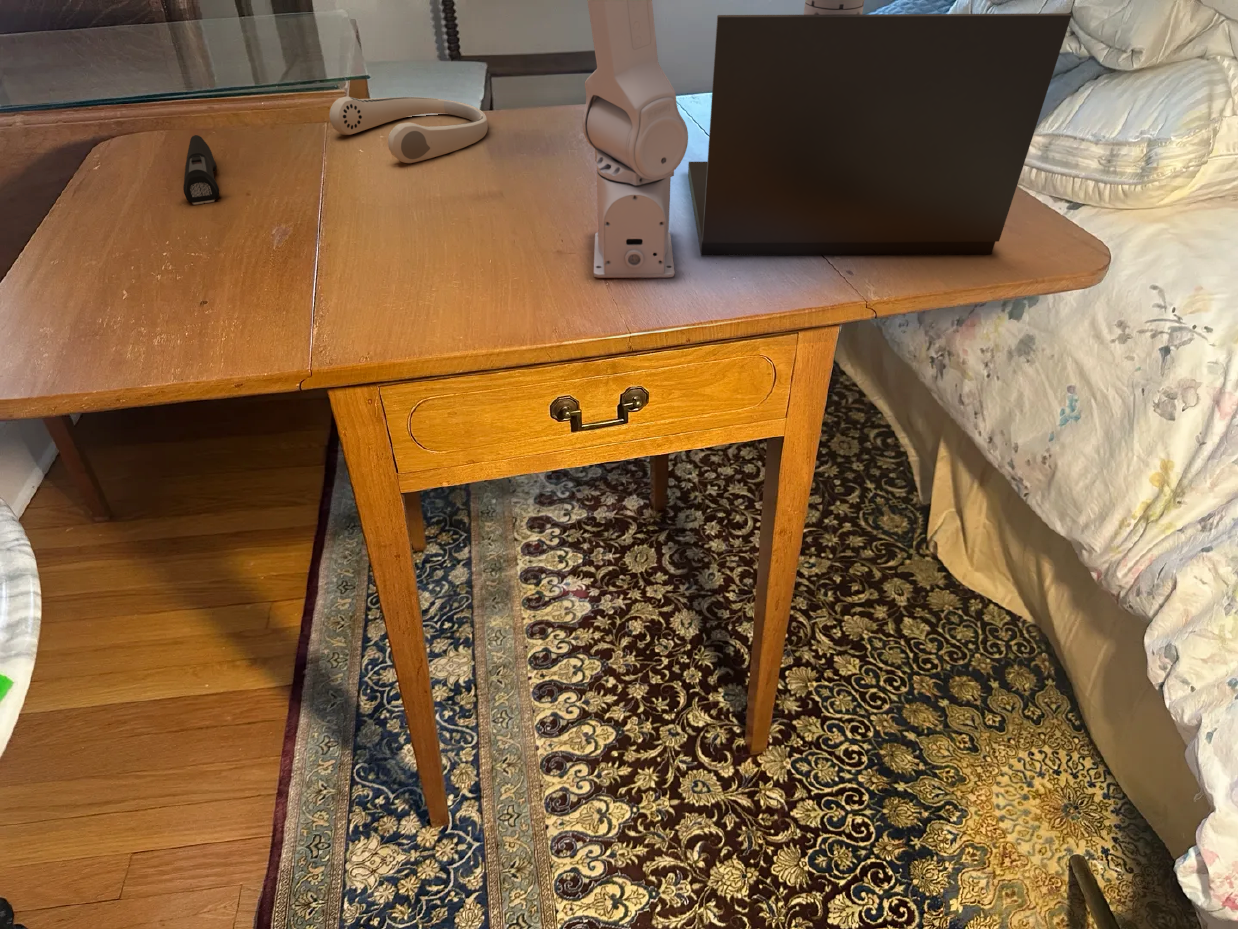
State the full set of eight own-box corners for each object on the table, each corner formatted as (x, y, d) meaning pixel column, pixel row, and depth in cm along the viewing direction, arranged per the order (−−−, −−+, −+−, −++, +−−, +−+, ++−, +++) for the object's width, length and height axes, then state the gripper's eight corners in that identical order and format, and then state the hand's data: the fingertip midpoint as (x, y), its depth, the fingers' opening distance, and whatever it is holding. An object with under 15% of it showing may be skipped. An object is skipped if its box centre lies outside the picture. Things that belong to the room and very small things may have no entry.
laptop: (687, 175, 105) (688, 160, 104) (934, 174, 105) (937, 159, 104) (701, 255, 89) (702, 238, 88) (991, 254, 89) (996, 237, 88)
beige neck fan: (439, 104, 125) (434, 68, 122) (512, 134, 116) (509, 96, 113) (329, 136, 116) (321, 98, 112) (400, 171, 107) (393, 131, 103)
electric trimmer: (219, 156, 111) (211, 131, 109) (221, 200, 100) (213, 173, 98) (188, 160, 110) (179, 135, 108) (187, 205, 99) (177, 178, 97)
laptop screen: (717, 14, 73) (718, 16, 73) (1068, 12, 74) (1072, 15, 73) (702, 239, 88) (702, 243, 87) (996, 237, 88) (999, 241, 87)
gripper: (897, -7, 88) (872, 127, 97) (756, -7, 88) (744, 128, 97) (915, 10, 83) (887, 150, 92) (765, 10, 83) (751, 151, 92)
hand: (814, 140), depth 94 cm, fingers closed
